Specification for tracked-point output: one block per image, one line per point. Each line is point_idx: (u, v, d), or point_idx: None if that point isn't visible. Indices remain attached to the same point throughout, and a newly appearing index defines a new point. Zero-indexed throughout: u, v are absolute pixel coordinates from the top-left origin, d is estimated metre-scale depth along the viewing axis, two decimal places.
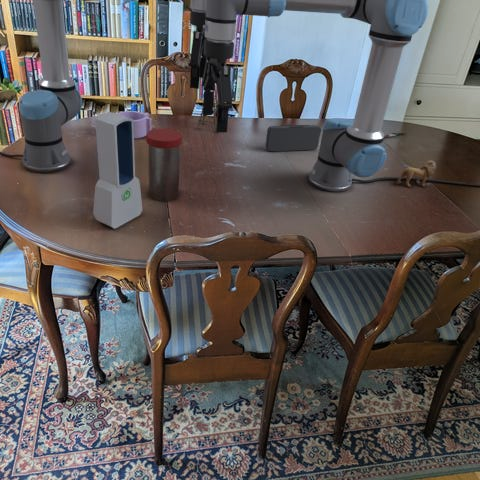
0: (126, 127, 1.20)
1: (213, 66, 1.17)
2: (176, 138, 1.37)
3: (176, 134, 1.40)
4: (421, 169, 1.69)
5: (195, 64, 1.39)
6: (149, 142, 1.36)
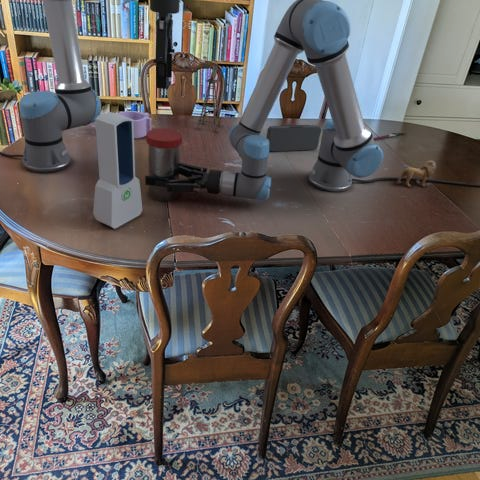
0: (126, 127, 1.20)
1: None
2: (176, 138, 1.37)
3: (176, 134, 1.40)
4: (421, 169, 1.69)
5: None
6: (149, 142, 1.36)
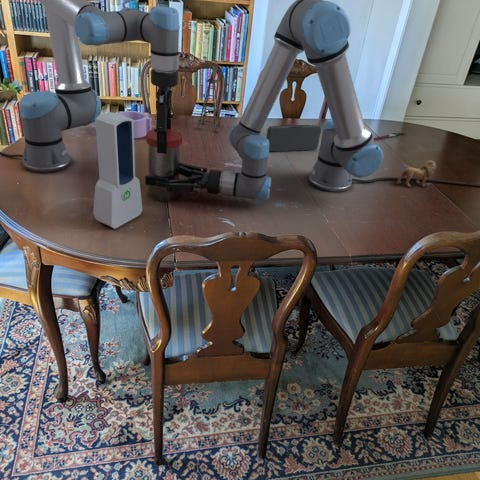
0: (126, 127, 1.20)
1: None
2: (176, 138, 1.37)
3: (177, 134, 1.40)
4: (421, 169, 1.69)
5: None
6: (149, 142, 1.36)
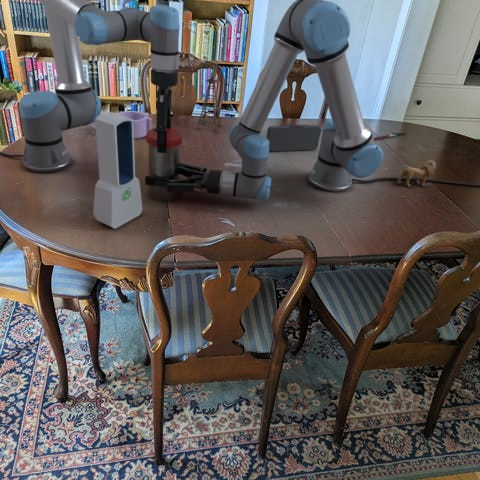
0: (126, 127, 1.20)
1: None
2: (171, 129, 1.42)
3: None
4: (421, 169, 1.69)
5: None
6: (176, 144, 1.36)
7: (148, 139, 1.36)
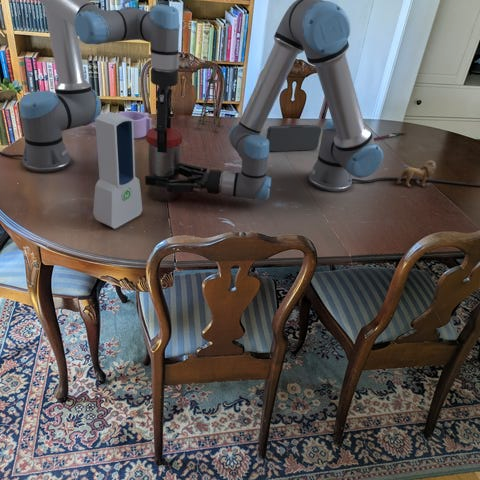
0: (126, 127, 1.20)
1: None
2: (150, 130, 1.39)
3: (152, 135, 1.36)
4: (421, 169, 1.69)
5: None
6: None
7: (174, 142, 1.36)
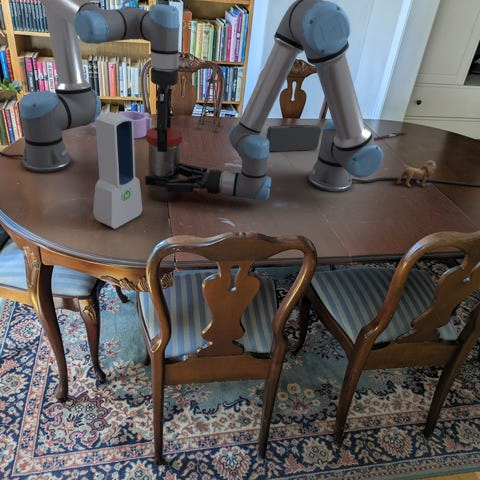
0: (126, 127, 1.20)
1: None
2: None
3: (172, 137, 1.36)
4: (421, 169, 1.69)
5: None
6: None
7: None
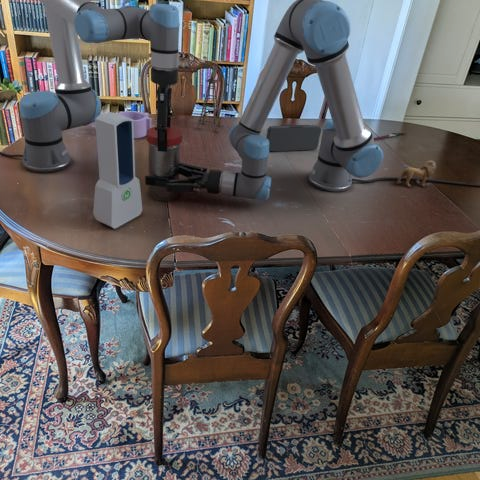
0: (126, 127, 1.20)
1: None
2: (179, 133, 1.38)
3: (173, 129, 1.41)
4: (421, 169, 1.69)
5: None
6: (156, 142, 1.35)
7: None
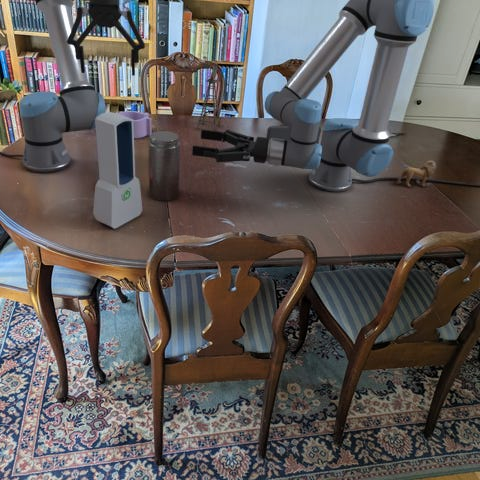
0: (126, 127, 1.20)
1: None
2: None
3: None
4: (421, 169, 1.69)
5: None
6: None
7: None
